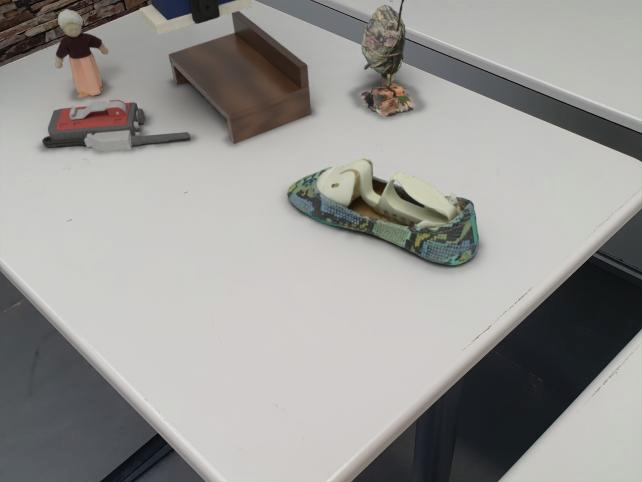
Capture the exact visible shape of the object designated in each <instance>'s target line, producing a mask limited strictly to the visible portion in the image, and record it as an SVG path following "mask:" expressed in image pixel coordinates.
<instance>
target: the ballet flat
mask: <svg viewBox="0 0 642 482" xmlns="http://www.w3.org/2000/svg"><path fill="white" fill-rule="evenodd" d="M395 182H397V183H399V185H398V184H397V183H395ZM286 195H287V198H288V200H289V202H290V203H291V204H292V205H293V206H294V207H295V208H297V209H298V210H299V211H301V212H302V213H304V214H305V215H306V216H308V217H310V218H312V219H314V220H316V221H318V222H320V223H323V224H326V225H330V226H334V227H339V228H342V229H343V228H344V229H349V230H352V231H353V230H354V231H357V232H361V233H365V234H368V235H372V236H373V237H374V236H375V237H378V238H381V239H383V240H385V241H387V242H390V243H392V244H393V245H397V246H399V247H400V248H403V249H405V250H407V251H408V252H410V253H413V254H414V255H416V256H418V257H420V258H422V259H425V260H427V261H429V262H432V263H437V264H441V265H445V266H459V265H462V264H464V263H466V262H467V261H469V260H471V259H472V258H473V257H474V256H475V255H476V253H477V251H478V249H479V245H480V244H479V243H480V236H479V232H478V224H477V213H476V210H475V205H474V203H473V201H472V200H470V199H467V198H465V197H461V196H460V197H459V196H458V195H457V193H451V194H450V195H444V194H443V193H442V191H440V190H439V188H436V186H434V185H432V184H431V183H429V182H428V181H425V180H424V179H422V178H419V177H415V176H412V175H408V174H405V173H403V172H400V171H399V172H398V171H397V172H396V173H394V174H393V175H392V176H391V177H390V179H389V180H388V181H387V180H385V179H382V178H379V177H377V176H374V164H373V161H372V159H370V158H369V157H364V158H360V159H355V160H353V161H351V162H349V163H347V164H342V165H341V164H339V165H335V166H328V167H326V168H323V169H321V170H320V171H317V172H314V173H311V174H308V175H306V176H304V177H302V178H300V179H299V180H297V181H295V182H293V183H292V184H291V186H289V188H288V189H287V193H286Z"/></svg>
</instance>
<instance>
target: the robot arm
mask: <svg viewBox="0 0 642 482" xmlns="http://www.w3.org/2000/svg"><path fill="white" fill-rule="evenodd" d="M189 3H190V8H191V13H192V18H193V21H194V22H195V23H196V24H195V25H199V24H201V23H206V22H210V21H212V20H216V19H218V18H220V17H221V16H220V12H219V5H218V0H189ZM219 16H220V17H219Z"/></svg>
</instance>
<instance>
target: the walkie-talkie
mask: <svg viewBox="0 0 642 482" xmlns="http://www.w3.org/2000/svg"><path fill="white" fill-rule="evenodd" d="M138 106H139V105H138V103H137V102H134V101H132V102H125V101H123V100H121V99H114V100H113V99H112V100H109V101H107V100H99V101H92V102H91V103H90V104H89V105H87V106H75V105H72V106H71V107H64V108H58V109H54V110H53V112H52V113H51V114H52V115H51V118H50V121H49V123H48V126H47V132H48V136H45V137H43V138H42V140H41V142H42V143H43V146H44V147H48V148H50V147H52V148H53V147H57V148H59V147H60V148H62V147H71V146H86V148H93V149H95V150H97V151H100V152H113V151H114V152H115V151H131V150H132V147H135V146H142V145H145V144H158V143H168V142H170V141H172V140H173V141H174V140H183V139H190V138H191V134H190V133H189V132H187V131H183V132H171V133H161V134H160V133H159V134H149V135H141V134H142V133H141V132H140V131H138V130H139V129H140V125H144V124H145V122H146V120H145V119H146V118H145V112H144V110H143V108H142V107H140V108H139V107H138Z"/></svg>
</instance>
